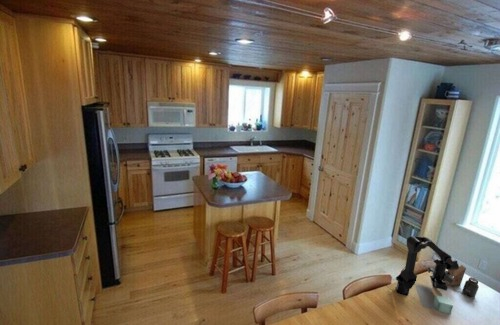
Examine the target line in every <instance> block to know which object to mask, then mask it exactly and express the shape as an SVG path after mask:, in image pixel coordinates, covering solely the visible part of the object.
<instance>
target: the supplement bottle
mask: <svg viewBox="0 0 500 325" xmlns="http://www.w3.org/2000/svg"><path fill="white" fill-rule="evenodd" d="M479 289H480V288H479V280H478V279H476V278H475V277H472V276H471V277H469V278H468V279H467V280H465V282H464V285H463V288H462V291H461V292H462V294H463V295H464V296H466V297H467V298H470V299H475V298H476V295H477V293H478V290H479Z"/></svg>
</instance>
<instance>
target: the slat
mask: <svg viewBox="0 0 500 325" xmlns="http://www.w3.org/2000/svg"><path fill="white" fill-rule="evenodd" d="M431 288H432V290H431V292H432V294H433V296H434V298H435V297H436V295H438V296H442V297H444V296H443V294H442V292H441V289H438V288H436V287H431Z"/></svg>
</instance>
